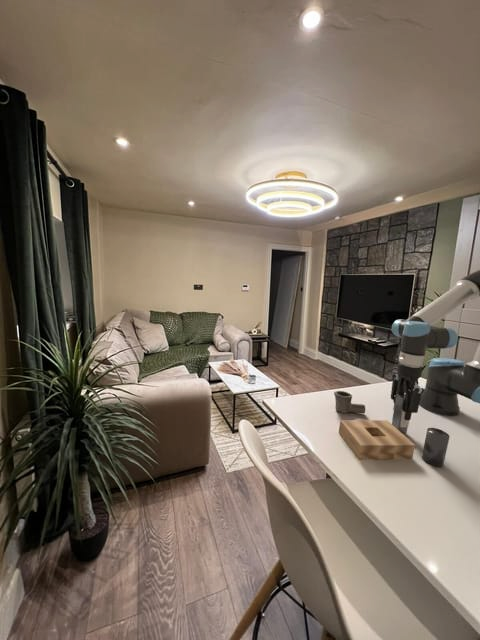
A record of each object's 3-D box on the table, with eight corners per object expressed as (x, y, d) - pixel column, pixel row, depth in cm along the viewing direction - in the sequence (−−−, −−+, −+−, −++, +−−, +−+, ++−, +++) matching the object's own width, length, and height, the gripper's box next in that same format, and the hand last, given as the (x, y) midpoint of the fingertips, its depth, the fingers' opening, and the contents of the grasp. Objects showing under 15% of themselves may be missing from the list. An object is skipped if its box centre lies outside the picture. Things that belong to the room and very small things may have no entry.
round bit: (433, 455, 86) (439, 427, 84) (447, 467, 80) (454, 438, 79) (417, 455, 85) (422, 427, 84) (431, 467, 80) (437, 438, 78)
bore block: (385, 432, 97) (387, 420, 96) (412, 459, 83) (415, 445, 82) (338, 432, 95) (340, 420, 94) (358, 459, 82) (360, 445, 81)
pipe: (365, 418, 107) (368, 400, 105) (333, 413, 109) (335, 395, 108) (361, 410, 112) (364, 393, 111) (331, 406, 115) (333, 389, 114)
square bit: (399, 427, 100) (405, 394, 98) (406, 433, 97) (412, 398, 94) (391, 427, 100) (396, 394, 98) (397, 433, 97) (403, 398, 94)
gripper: (385, 356, 102) (377, 411, 106) (417, 372, 85) (406, 437, 89) (403, 357, 102) (394, 411, 106) (439, 373, 86) (426, 437, 90)
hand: (399, 423), depth 98 cm, fingers closed on square bit, 4 cm apart
